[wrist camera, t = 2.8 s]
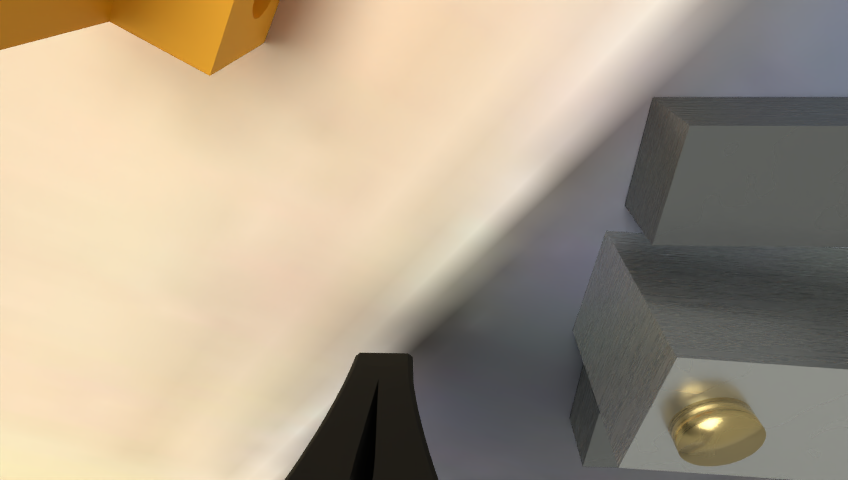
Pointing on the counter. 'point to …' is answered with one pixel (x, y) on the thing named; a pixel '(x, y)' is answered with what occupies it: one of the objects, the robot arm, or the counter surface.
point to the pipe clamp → (150, 24)
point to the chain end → (731, 192)
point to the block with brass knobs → (720, 357)
